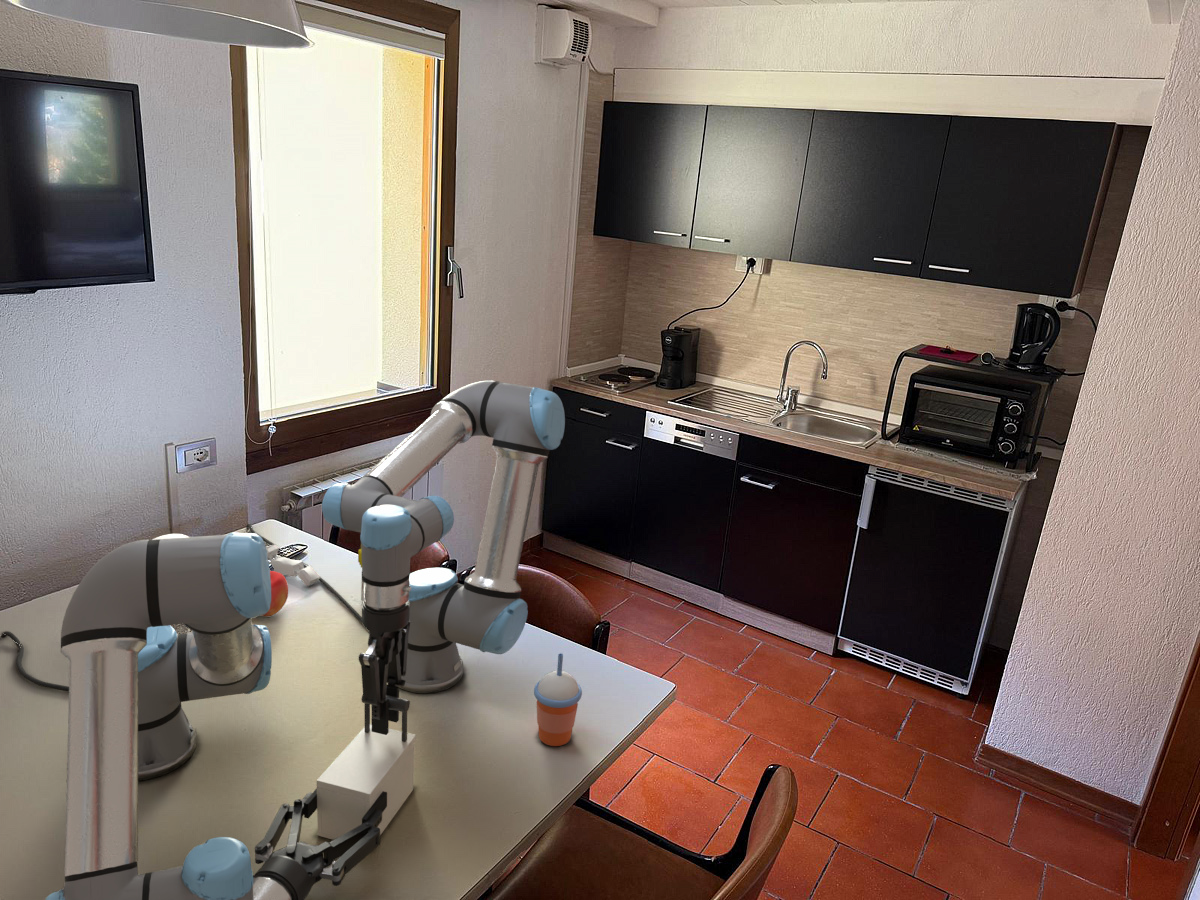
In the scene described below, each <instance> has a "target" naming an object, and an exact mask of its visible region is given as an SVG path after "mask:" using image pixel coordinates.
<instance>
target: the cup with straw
mask: <svg viewBox="0 0 1200 900" xmlns="http://www.w3.org/2000/svg"><path fill="white" fill-rule="evenodd" d="M563 660H564V654H563V653H562V652H560V653H558V654H557V665H556V666H557V667H556V668H557V669H556V670H553V671H549V672H548V673H546V674H544V675H543V676H542V677H541V678H540V680H539V681H537V682H536V684H535V686H534V688H533V695H534V697H535V699H536V723H537V726H538V738H539V740H540V742H542V743H543V744H544V745H548V746H551V747H559V746H564V745H566V744H567V743H569V742H570V740H571V737H572V733H573V727H575V723H576V716H577V712H578V705H579V701H580V700H581V699H582V695H583V689H582V687H581V685H580V684H579V683H578V682H577V679H576V678H575V677H574V676H573V675H572V674H570V673H569V672H567V671H564V670H563V662H564V661H563Z"/></svg>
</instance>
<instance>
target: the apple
mask: <svg viewBox="0 0 1200 900" xmlns="http://www.w3.org/2000/svg"><path fill="white" fill-rule="evenodd" d="M270 579H271V605H270V609H269V611H268V612H267V613H266V614H264V615H260V616H261V617H265V618H269V617H273V616H275V615H276V614H278V613H279V612H280V611H281V610H282V609H283V607H284V606H285V605H286V603H287V600H288V597H289V584H288V581H287V579H286V577H285V575H282V574H281V573H278V572H275V571H270Z"/></svg>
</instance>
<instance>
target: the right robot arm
mask: <svg viewBox="0 0 1200 900" xmlns="http://www.w3.org/2000/svg"><path fill="white" fill-rule="evenodd" d="M565 426H566V416H565V409H564V405H563V402H562V400H561V398H560V397H559V394H557V393H555V392H554V391H551V390H547V389H544V388H541V387H536V386H529V385H528V386H527V385H521V384H514V383H509V382H503V381H498V380H491V379H490V380H489V379H488V380H480V381H475V382H473V383H470V384H467V385H464V386H462V387H460V388H458V389H456V390H453V391H452V392H450V393H449V394H446V396H445V397H443V398H442V399H440V400H439V401H438V402H437V403H436V404H435V405H434V406H433V407H432V409H431V412H430V416H429V417H428V418H427V419H426V420H424V421H423V422H422V423H421V424H420V425H419V426H418V427H417V428H416V429H415V430H413V431H412V432H411V433H410V434H409V435H408V436H407V437H405V438H404V439H403V440H402V441H401V442H400V443H399V444H397V445H396V447H394V448H393V449H392V450H391V451H390V452H388V454H387V455H385V456H384V457H383V458H382V459H380V461H378V462H377V463H376V464H375V465H373V467H371V468H370V469H369V470H368V471H367V472H366V473H365V474H363V476H362V477H361V478H359V479H358V480H356V482H354V484H350V483H343V482H342V483H341V482H338V483H335V484H333V485H331V486H330V487H329V488H328V489H327V490H326V492H325V494H324V495H323V499H322V503H321V512H322V516H323V519H324V520H325V521H326V523H328V524H329V525H332V526H334V527H338V528H340V529H344V530H345V531H352V532H356V533H360V535H359V540H360V549H361V552H362V568H361V590H360V591H361V592H360V593H361V598H360V599H361V602H362V603H361V615H360V614H359V613H358V612H357V610H355V608H354V607H353V606H351V604H350V603H348V601H347V600H346V599H344V598H343V597H342V596H341V594H340V593H339V592H337V591H336V590H335V589H334V588H333V587H332V586H331V584H329V583H328V582H327V581H325V580H324V579H323V578H322V577H320V579H319V580H318V582H320V583H321V584H322V585H323V586H324V587H325V588H326V589H328V590H329V591H330V592H331V593H332V594H333V595H334V596H335V597H336V599H338V600H339V601H340V602H341V603H342V604H343V605H344V606H345V607H346V608H347V609H348V610H349V612H351V613H352V614H353V615H354V617H356V618H357V619H358V621H359V622H360V623H361V624H362V626H363V627H364V628H365V629H366V630H367V631H368V633H369V634H368V640H367V646H368V648H367V650H366V651H365V652H360V653H359V655H358V662H359V665H360V671H361V687H362V695H363V702H364V703H368V704H372V705H371V724H372V732H376V733H380V734H384V735H387V734H388V733H389V729H390V728H389V726H390V725H389V722H391V723H398V722H399V720H400V711H396V710H392V709H389V699H387V698H386V695H389V696H393V697H398V698H400V689H401V690H404V691H407V692H410V693H416V694H430V693H431V694H432V693H438V692H441V691H445V690H447V689H450V688H451V687H453V686H455V685H456V684H457V683H458V682H459V681H460V680H461V679H462V676H463V672H464V662H463V660H462V657H461V656H460V653H459V649H458V646H457V644H458V645H462V646H465V647H469V648H472V649H475V650H479V651H480V652H482V653H491V654H495V655H503V654H505V653H507V652H509V651H510V650H511V649H512V648H513V647H514V646H515V644H516V643H517V642H518V640H519V639H520V636H521V635H522V633H523V630H524V629H525V626H526V623H527V619H528V614H529V613H528V612H529V610H528V608H529V607H528V603H527V602H526V601H525V600H524V599H523V598H521V595H522V594H521V593H522V587H521V585H520V584H519V583H518V581H517V577H518V572H519V566H520V562H521V556H522V553H523V552H522V551H523V546H524V541H525V536H526V531H527V526H528V521H529V517H530V516H529V515H530V511H531V505H532V501H533V497H534V491H535V486H536V483H537V482H536V481H537V475H538V471H539V467H540V464H541V463H543V462H544V461H546V460H548V458H549V455H550V451H553V450H556V449H557V448H558V447H559V446H560V445H561V441H562V440H563V437H564V434H565ZM478 436H481V437H482V436H484V437H488V438H492V444H491V448H492V449H493V451H494V452H495V455H496V461H495V466H494V472H493V477H492V481H491V487H490V492H489V497H488V501H487V506H486V507H487V508H486V510H485V511H486V512H485V517H484V521H483V527H482V532H481V537H480V542H479V546H478V551H477V552H478V553H477V557H476V562H475V566H474V571H473V572H472V573H470V574H469V575H468V576H466V577H465V578H464V584H462V583H458V580H459V579H458V575H457V573H456V572H455V571H454V570H452V569H450V568H446V567H428V568H421V569H418V570H416V571H413V572H411V558H412V557H414V556H415V555H417V554H419V553H420V552H422V551H423V550H425V549H426V548H429V547H430V546H432V545H433V544H435V543H439V541H441V539H442V538H444V537H445V536H446V535H447V534H448V533H449V532H451V530H452V529H453V526H454V523H455V515H454V511H453V508H452V507H451V505H450V503H449V502H448V501H447V500H446V499H445V498H443V497H441V496H439V495H435V494H433V495H428V496H425V497H424V496H423V497H421V498H419V499H417V500H416V499H411V498H407V497H404V496H405V495H406V494H407V493H408V492H409V491H410V490H411V489H413V487H415V485H416V484H417V483H418V482H420V481H421V479H422V478H424V476H426V475H427V474H428V473H429V472H430V471H431V470H432V469H433V468H434V467H435V466H436V465H437V464H438V463H439V462H440V461H441V460H442V459H443V458H445V456H446V455H447V454H448V453H450V452H451V450H453V448H454V447H456V446H457V445H459V444H461V445H462V444H464V443H467V441H469V440H470V439H471V438H473V437H478ZM245 527H246V528H248V529H249V531H250V533H255V534H257V535H259V536H260V537H261V538H262V539H263V541H264V543H265V544H267V545H268V546H271V545H276V544H275V543H273V542H272V541H271V540H268V539H267V538H266V537H264V536H262V535H261V534H259V533H257V532H256V531H255V530H254V528H253V526H252V524H251V523H247V524H246V526H245ZM251 527H252V528H251ZM294 558H295V557H294ZM294 558H292V560H295V559H294ZM306 567H308V566H307V565H305V564H304V568H306ZM363 702H362V703H363ZM364 703H363V704H364Z"/></svg>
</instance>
